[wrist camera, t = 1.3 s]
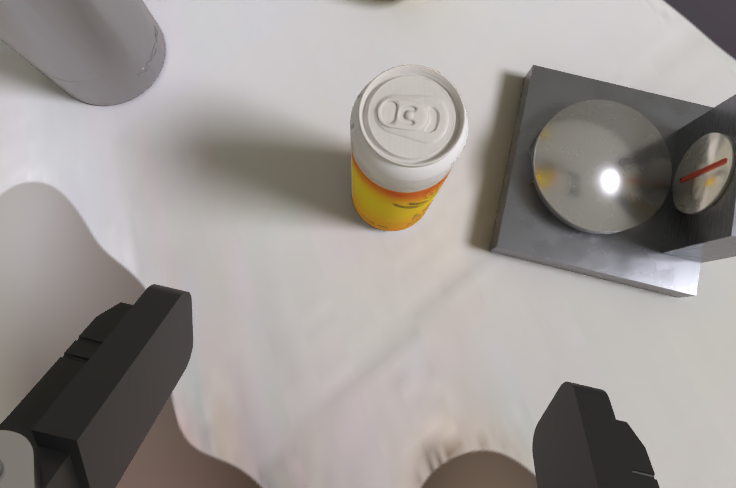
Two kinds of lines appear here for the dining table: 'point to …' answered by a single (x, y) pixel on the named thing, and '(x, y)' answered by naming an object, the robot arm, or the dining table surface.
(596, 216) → the pan
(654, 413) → the dining table surface
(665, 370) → the dining table surface
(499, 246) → the scale
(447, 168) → the beer can
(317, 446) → the dining table surface
